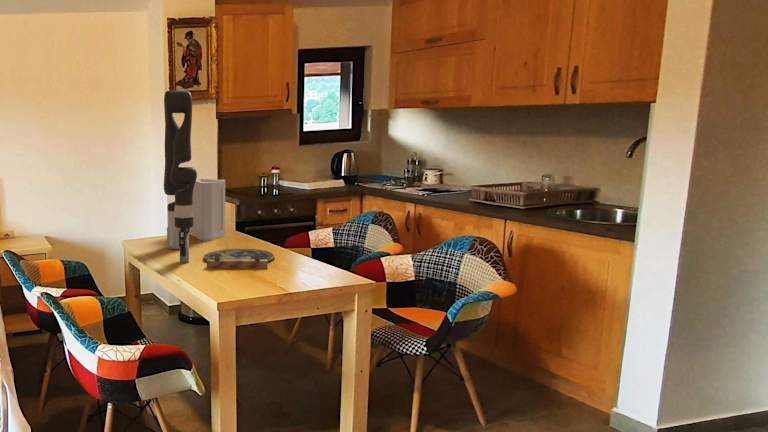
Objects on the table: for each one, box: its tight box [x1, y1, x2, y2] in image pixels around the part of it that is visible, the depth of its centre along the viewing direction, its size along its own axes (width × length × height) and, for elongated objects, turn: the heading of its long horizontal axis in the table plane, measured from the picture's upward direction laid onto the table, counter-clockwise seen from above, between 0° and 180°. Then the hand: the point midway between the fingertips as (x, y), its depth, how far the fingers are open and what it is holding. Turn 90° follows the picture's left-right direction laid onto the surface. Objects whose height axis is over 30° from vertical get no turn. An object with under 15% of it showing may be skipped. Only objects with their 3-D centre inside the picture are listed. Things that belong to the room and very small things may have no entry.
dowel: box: [179, 240, 190, 264], centre depth 283 cm, size 4×4×9 cm
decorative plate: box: [202, 248, 275, 264], centre depth 294 cm, size 30×2×30 cm
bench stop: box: [206, 253, 268, 269], centre depth 278 cm, size 24×3×6 cm, turn 100°
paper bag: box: [189, 178, 226, 242], centre depth 339 cm, size 19×15×28 cm
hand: (184, 254), depth 283 cm, fingers open, 8 cm apart
